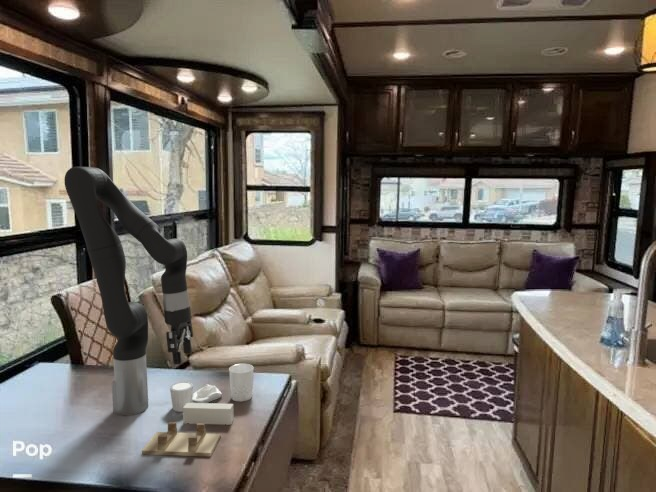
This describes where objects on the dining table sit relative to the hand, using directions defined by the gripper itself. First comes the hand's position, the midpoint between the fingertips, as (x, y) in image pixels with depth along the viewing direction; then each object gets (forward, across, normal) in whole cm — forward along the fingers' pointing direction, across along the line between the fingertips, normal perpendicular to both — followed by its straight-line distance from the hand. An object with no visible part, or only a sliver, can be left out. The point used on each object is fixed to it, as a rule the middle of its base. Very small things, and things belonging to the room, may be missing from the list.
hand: (183, 358), depth 136 cm
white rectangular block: (+18, +5, +7) cm, 20 cm away
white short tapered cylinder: (+17, -4, -4) cm, 18 cm away
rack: (+18, +18, +4) cm, 25 cm away
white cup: (+19, -11, +13) cm, 26 cm away
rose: (+18, -10, +2) cm, 21 cm away
